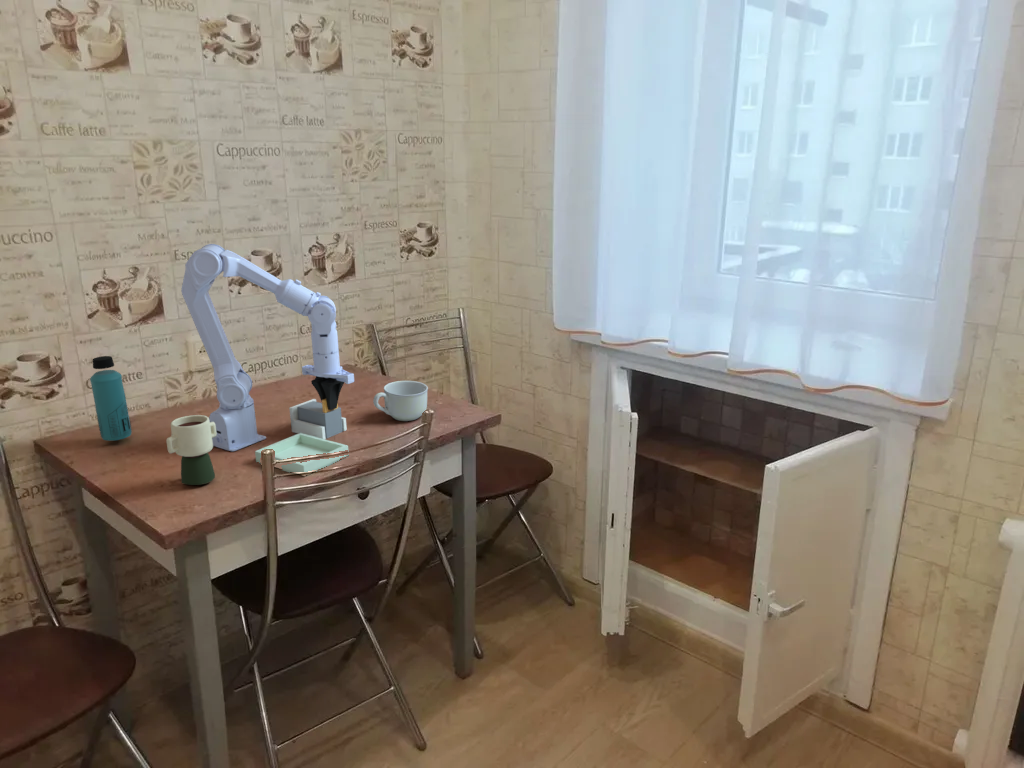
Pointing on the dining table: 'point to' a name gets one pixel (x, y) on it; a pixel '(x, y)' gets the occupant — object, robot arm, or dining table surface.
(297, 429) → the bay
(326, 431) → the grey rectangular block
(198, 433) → the character mug
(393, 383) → the teacup
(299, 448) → the tray
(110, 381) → the beverage bottle
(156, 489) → the dining table surface
